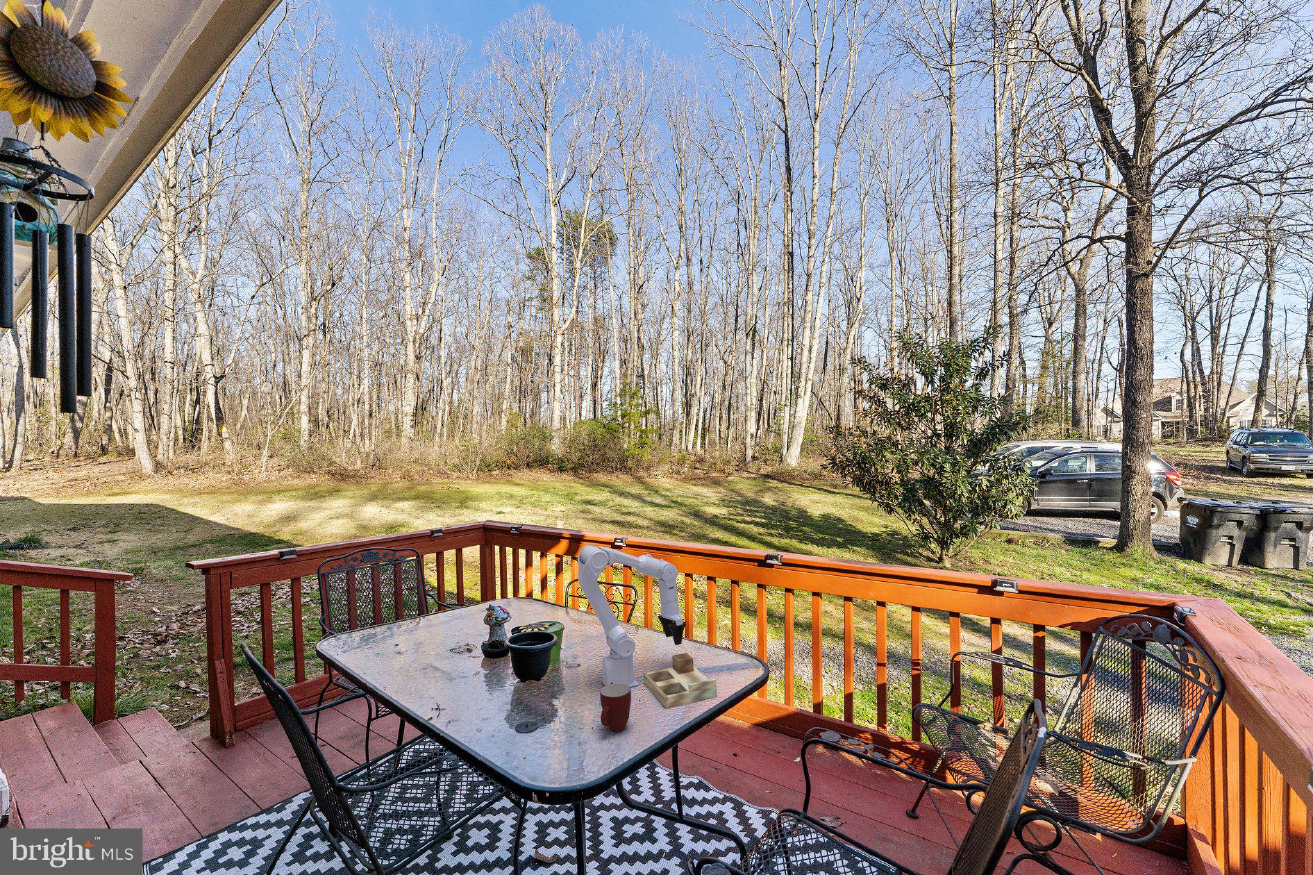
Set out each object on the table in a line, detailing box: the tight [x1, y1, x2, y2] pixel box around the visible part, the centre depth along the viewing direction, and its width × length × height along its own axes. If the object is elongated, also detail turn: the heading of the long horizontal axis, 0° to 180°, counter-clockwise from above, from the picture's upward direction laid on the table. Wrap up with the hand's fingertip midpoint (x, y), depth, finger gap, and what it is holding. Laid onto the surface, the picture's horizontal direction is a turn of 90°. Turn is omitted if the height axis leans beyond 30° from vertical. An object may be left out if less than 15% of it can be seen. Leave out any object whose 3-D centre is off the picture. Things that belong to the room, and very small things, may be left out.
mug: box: [599, 683, 632, 732], centre depth 148 cm, size 10×8×10 cm
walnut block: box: [671, 652, 695, 674], centre depth 176 cm, size 5×5×4 cm
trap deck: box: [643, 666, 718, 710], centre depth 169 cm, size 16×18×5 cm
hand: (673, 640), depth 183 cm, fingers open, 7 cm apart
